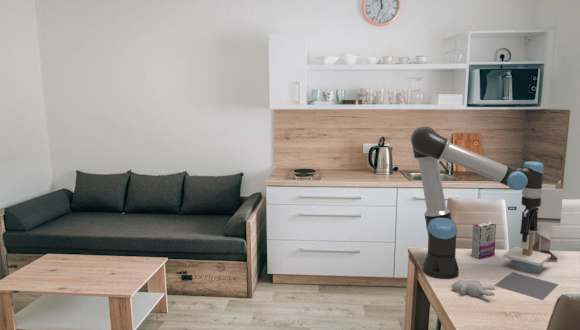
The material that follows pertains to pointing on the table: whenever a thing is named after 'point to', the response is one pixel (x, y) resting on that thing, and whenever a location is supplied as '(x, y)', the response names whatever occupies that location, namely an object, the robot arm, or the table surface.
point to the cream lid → (527, 254)
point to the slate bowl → (525, 266)
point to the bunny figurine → (472, 288)
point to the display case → (548, 219)
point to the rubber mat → (527, 285)
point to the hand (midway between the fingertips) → (527, 246)
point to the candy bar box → (483, 240)
